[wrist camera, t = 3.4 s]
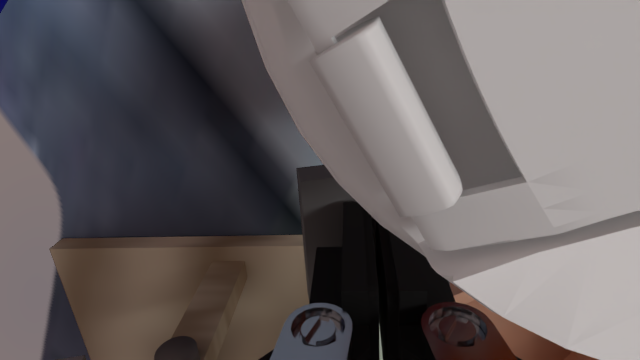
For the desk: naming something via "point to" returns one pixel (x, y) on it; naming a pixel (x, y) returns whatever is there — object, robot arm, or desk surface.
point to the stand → (182, 294)
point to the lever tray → (318, 219)
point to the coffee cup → (483, 144)
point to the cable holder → (2, 4)
